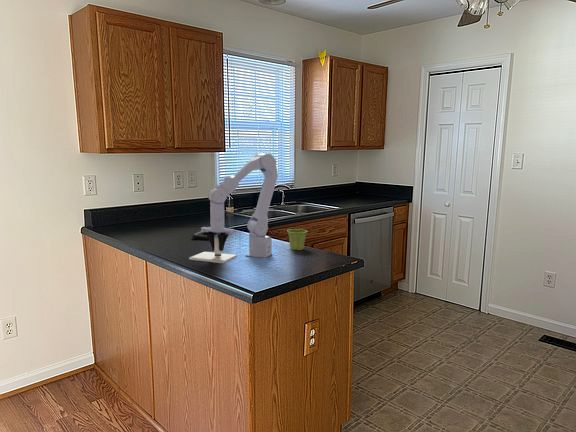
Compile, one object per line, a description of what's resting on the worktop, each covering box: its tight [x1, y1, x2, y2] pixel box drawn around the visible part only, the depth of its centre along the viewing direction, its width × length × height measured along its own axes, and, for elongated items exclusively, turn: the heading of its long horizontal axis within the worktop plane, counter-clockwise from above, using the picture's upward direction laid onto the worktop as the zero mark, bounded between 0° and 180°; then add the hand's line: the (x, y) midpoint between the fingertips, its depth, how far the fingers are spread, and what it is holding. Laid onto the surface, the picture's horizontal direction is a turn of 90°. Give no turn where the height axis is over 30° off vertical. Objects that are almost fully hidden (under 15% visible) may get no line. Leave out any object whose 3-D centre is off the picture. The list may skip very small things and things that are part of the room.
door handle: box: [191, 230, 220, 241], centre depth 225 cm, size 3×20×16 cm
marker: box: [213, 235, 222, 257], centre depth 177 cm, size 3×3×9 cm
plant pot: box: [286, 228, 308, 251], centre depth 198 cm, size 9×9×9 cm
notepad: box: [188, 251, 238, 264], centre depth 180 cm, size 16×12×1 cm
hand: (217, 250), depth 178 cm, fingers closed on marker, 3 cm apart
